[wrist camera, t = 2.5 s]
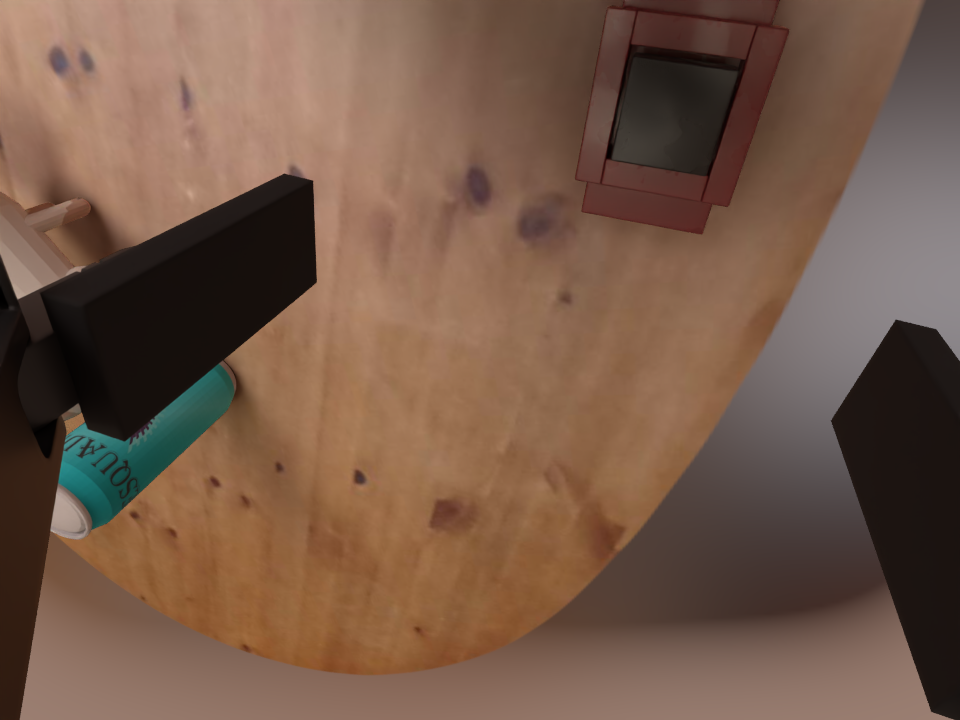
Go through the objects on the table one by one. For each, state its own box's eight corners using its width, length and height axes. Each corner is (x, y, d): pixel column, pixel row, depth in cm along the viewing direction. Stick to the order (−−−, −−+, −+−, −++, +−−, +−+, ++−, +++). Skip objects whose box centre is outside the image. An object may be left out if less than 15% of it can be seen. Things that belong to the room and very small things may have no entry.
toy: (24, 73, 37) (-297, 116, 25) (220, 318, 43) (42, 447, 31) (-31, 143, 41) (-328, 208, 29) (154, 356, 48) (-24, 482, 36)
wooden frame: (626, -52, 25) (618, -58, 22) (795, -35, 24) (813, -38, 20) (578, 197, 31) (566, 222, 28) (709, 222, 30) (713, 250, 27)
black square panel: (635, 51, 24) (632, 55, 22) (736, 65, 23) (740, 70, 22) (613, 151, 26) (610, 160, 25) (704, 166, 25) (706, 177, 24)
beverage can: (235, 350, 45) (71, 486, 33) (250, 409, 48) (105, 552, 36) (172, 338, 46) (-9, 464, 34) (190, 395, 49) (31, 530, 37)
